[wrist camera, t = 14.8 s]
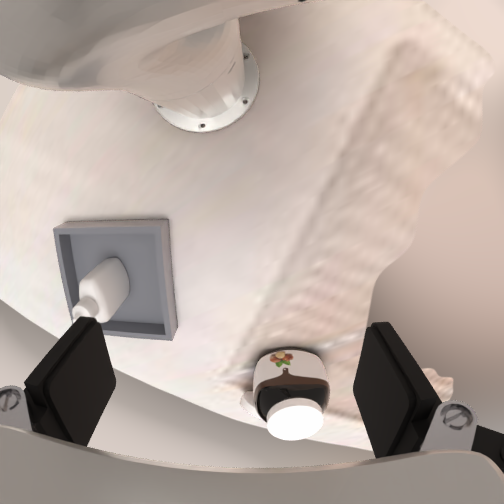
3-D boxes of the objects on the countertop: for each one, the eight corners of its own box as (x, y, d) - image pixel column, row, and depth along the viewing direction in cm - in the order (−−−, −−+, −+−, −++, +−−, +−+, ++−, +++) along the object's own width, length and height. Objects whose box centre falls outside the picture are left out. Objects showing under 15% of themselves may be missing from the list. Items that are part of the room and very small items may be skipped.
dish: (66, 221, 38) (53, 228, 34) (168, 219, 38) (160, 226, 34) (84, 319, 42) (74, 331, 39) (177, 326, 42) (172, 340, 39)
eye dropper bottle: (100, 288, 40) (57, 334, 28) (106, 252, 38) (59, 291, 27) (128, 300, 40) (91, 350, 29) (136, 263, 39) (96, 307, 27)
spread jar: (324, 344, 43) (342, 400, 32) (315, 399, 47) (326, 454, 36) (239, 345, 43) (235, 403, 32) (240, 401, 47) (238, 457, 36)
